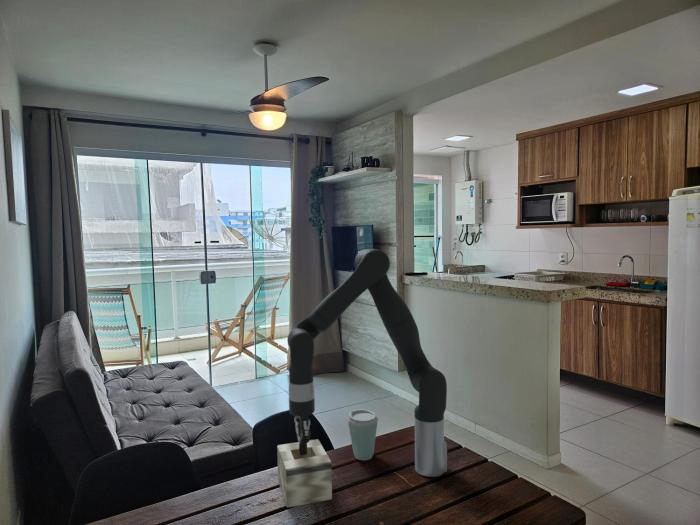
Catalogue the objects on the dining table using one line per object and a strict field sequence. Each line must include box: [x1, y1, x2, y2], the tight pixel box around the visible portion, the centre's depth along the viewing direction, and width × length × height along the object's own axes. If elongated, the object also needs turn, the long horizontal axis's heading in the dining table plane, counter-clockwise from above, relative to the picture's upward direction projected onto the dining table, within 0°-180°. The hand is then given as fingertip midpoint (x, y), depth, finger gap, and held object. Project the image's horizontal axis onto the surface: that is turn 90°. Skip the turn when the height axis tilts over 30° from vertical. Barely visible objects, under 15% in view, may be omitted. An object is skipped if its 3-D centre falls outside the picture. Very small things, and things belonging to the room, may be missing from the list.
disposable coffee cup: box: [346, 408, 379, 461], centre depth 160 cm, size 11×11×15 cm
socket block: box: [276, 439, 333, 508], centre depth 140 cm, size 13×17×11 cm
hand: (303, 453), depth 140 cm, fingers closed
